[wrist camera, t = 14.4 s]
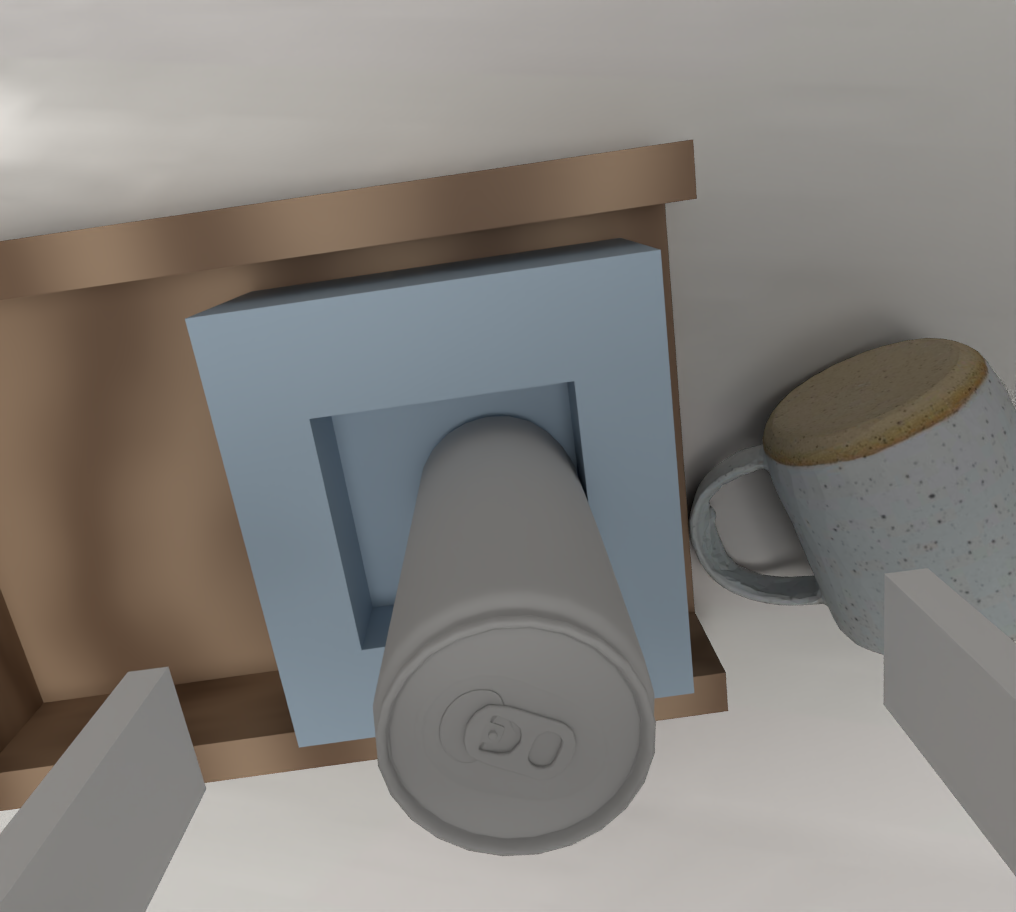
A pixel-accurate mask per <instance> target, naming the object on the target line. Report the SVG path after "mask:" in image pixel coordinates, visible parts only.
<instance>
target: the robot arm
mask: <svg viewBox="0 0 1016 912" xmlns="http://www.w3.org/2000/svg"><path fill="white" fill-rule="evenodd" d="M884 705H885V707H886V708H887V709H888V711H889V712H890V713H891V714H892V716H893V717H894V718H895V720H896V721H897V722H898V724H899V725H900V726H901V727H902V729H903V730H904V731H905V733H906V734H907V735H908V737H909V738H910V739H911V740H912V742H913V743H914V744H915V746H916V747H917V748H918V750H919V751H920V752H921V753H922V755H923V756H924V757H925V759H926V760H927V761H928V763H929V764H930V765H931V767H932V768H933V769H934V770H935V772H936V773H937V774H938V776H939V777H940V778H941V780H942V781H943V782H944V783H945V785H946V786H947V787H948V789H949V790H950V791H951V793H952V794H953V795H954V796H955V798H956V799H957V800H958V802H959V803H960V804H961V806H962V807H963V808H964V809H965V811H966V812H967V813H968V815H969V816H970V817H971V819H972V820H973V821H974V822H975V824H976V825H977V826H978V828H979V829H980V830H981V832H982V833H983V834H984V835H985V837H986V838H987V839H988V841H989V842H990V843H991V845H992V846H993V847H994V849H995V850H996V851H997V852H998V854H999V855H1000V856H1001V858H1002V859H1003V860H1004V862H1005V863H1006V864H1007V865H1008V867H1009V868H1010V869H1011V871H1012V872H1013V873H1014V875H1015V876H1016V643H1015V642H1014V641H1013V640H1011V639H1010V638H1009V637H1008V636H1007V635H1006V634H1004V633H1003V632H1002V631H1001V630H1000V629H998V628H997V627H996V626H995V625H994V624H993V623H991V622H990V621H989V620H988V619H987V618H986V617H984V616H983V615H982V614H981V613H980V612H979V611H977V610H976V609H975V608H974V607H973V606H971V605H970V604H969V603H968V602H967V601H966V600H964V599H963V598H962V597H961V596H960V595H959V594H957V593H956V592H955V591H954V590H953V589H952V588H950V587H949V586H948V585H947V584H946V583H944V582H943V581H942V580H941V579H940V578H939V577H937V576H936V575H935V574H934V573H933V572H932V571H930V570H929V569H928V568H924V569H917V570H909V571H901V572H894V573H886V574H885V575H884ZM205 790H206V786H205V783H204V780H203V776H202V773H201V770H200V767H199V764H198V760H197V757H196V754H195V751H194V747H193V744H192V741H191V738H190V735H189V731H188V728H187V725H186V722H185V718H184V715H183V712H182V709H181V706H180V702H179V699H178V696H177V693H176V689H175V686H174V683H173V680H172V677H171V673H170V670H169V667H162V668H154V669H147V670H139V671H131V672H127V674H126V675H125V676H124V677H123V679H122V680H121V681H120V683H119V684H118V685H117V686H116V688H115V689H114V690H113V691H112V693H111V694H110V695H109V696H108V698H107V699H106V700H105V702H104V703H103V704H102V705H101V707H100V708H99V709H98V710H97V712H96V713H95V714H94V716H93V717H92V718H91V719H90V721H89V722H88V723H87V724H86V726H85V727H84V728H83V729H82V731H81V732H80V733H79V735H78V736H77V737H76V738H75V740H74V741H73V742H72V743H71V745H70V746H69V747H68V749H67V750H66V751H65V752H64V754H63V755H62V756H61V757H60V759H59V760H58V761H57V763H56V764H55V765H54V766H53V768H52V769H51V770H50V771H49V773H48V774H47V775H46V776H45V778H44V779H43V780H42V782H41V783H40V784H39V785H38V787H37V788H36V789H35V790H34V792H33V793H32V794H31V796H30V797H29V798H28V799H27V801H26V802H25V803H24V804H23V806H22V807H21V808H20V809H19V811H18V812H17V813H16V815H15V816H14V817H13V818H12V820H11V821H10V822H9V823H8V825H7V826H6V827H5V829H4V830H3V831H2V832H1V834H0V912H145V911H146V909H147V907H148V905H149V903H150V901H151V899H152V897H153V895H154V893H155V891H156V889H157V887H158V885H159V883H160V881H161V879H162V877H163V875H164V873H165V871H166V869H167V867H168V865H169V863H170V861H171V859H172V857H173V855H174V853H175V851H176V849H177V847H178V845H179V843H180V841H181V839H182V837H183V835H184V833H185V831H186V829H187V827H188V825H189V823H190V821H191V819H192V817H193V815H194V813H195V811H196V809H197V807H198V805H199V803H200V800H201V798H202V796H203V794H204V792H205Z"/></svg>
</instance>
